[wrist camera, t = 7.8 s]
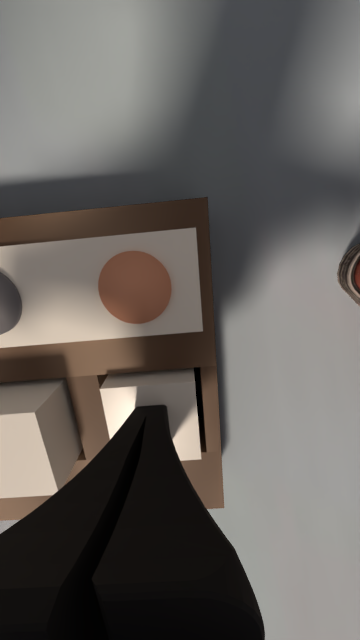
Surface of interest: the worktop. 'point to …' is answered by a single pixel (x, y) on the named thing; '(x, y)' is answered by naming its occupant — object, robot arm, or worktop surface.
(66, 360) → the button board
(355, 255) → the lighter
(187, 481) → the robot arm
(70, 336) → the pattern card
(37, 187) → the worktop surface
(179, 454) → the key
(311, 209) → the worktop surface
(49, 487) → the key
